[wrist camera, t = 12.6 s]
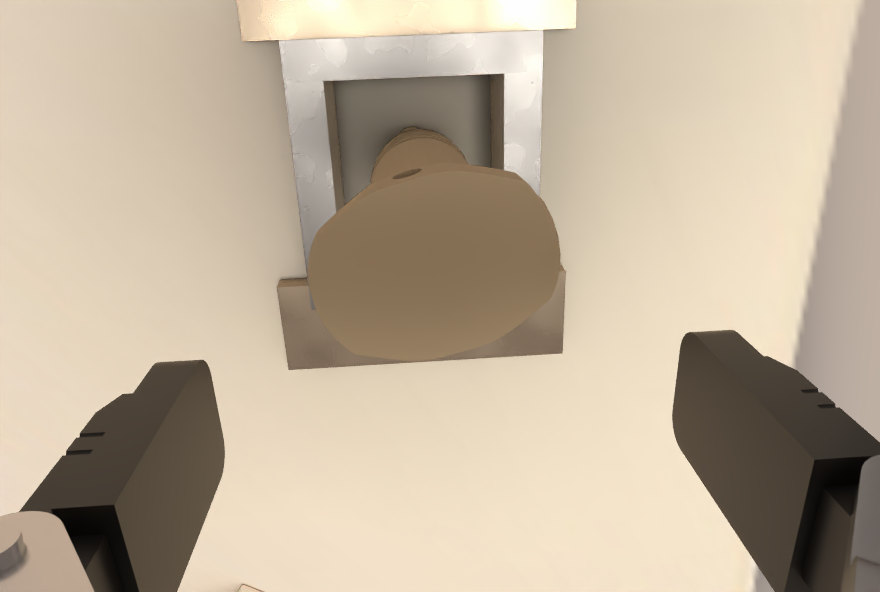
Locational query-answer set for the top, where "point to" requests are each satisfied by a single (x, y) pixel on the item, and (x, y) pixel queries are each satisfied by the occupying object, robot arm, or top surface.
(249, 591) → the milk
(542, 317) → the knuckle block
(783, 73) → the top surface
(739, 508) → the robot arm
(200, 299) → the top surface
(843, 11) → the top surface
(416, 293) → the handle
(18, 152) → the top surface
